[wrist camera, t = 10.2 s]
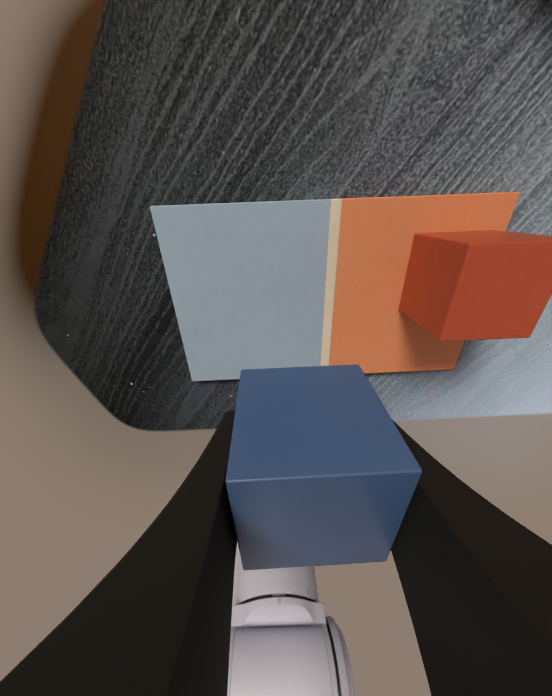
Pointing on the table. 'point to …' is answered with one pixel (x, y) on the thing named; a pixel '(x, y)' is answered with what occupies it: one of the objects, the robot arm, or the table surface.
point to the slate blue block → (315, 469)
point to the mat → (308, 280)
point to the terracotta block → (477, 283)
